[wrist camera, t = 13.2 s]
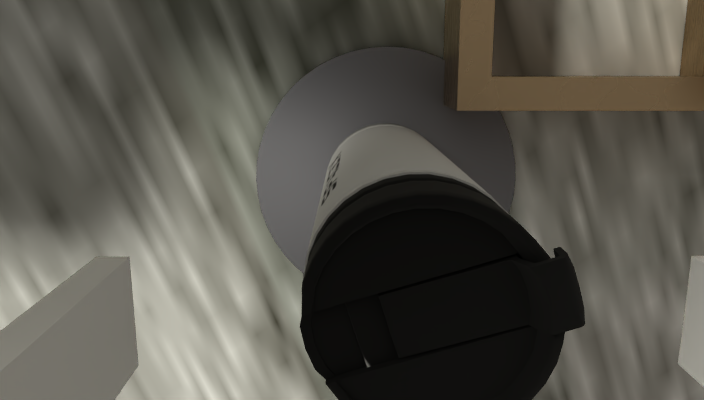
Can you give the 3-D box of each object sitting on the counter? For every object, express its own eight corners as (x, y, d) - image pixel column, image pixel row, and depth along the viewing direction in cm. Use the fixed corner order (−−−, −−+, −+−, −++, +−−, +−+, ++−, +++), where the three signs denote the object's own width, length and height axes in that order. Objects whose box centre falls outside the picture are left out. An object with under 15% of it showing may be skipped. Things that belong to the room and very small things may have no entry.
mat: (261, 298, 35) (260, 301, 35) (253, 46, 32) (252, 46, 32) (506, 299, 35) (508, 302, 35) (520, 46, 32) (522, 46, 32)
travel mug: (461, 215, 34) (616, 413, 14) (346, 250, 34) (341, 490, 14) (429, 105, 32) (551, 153, 13) (311, 142, 33) (252, 245, 13)
